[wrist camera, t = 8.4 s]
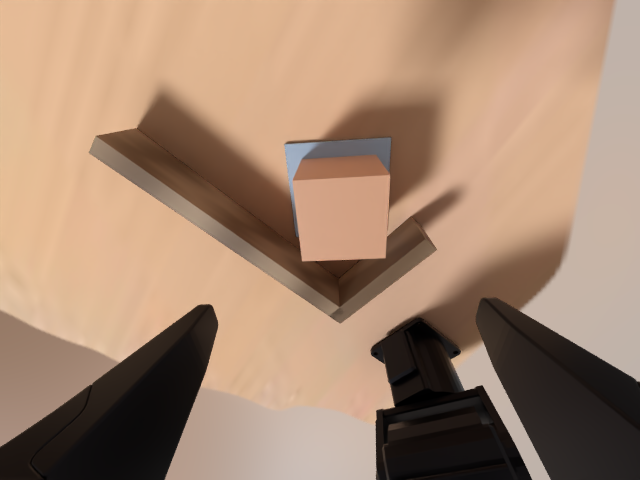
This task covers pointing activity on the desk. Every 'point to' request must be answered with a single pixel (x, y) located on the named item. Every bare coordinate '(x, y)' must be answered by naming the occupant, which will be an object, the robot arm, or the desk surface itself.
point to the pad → (333, 155)
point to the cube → (342, 207)
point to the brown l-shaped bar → (259, 228)
